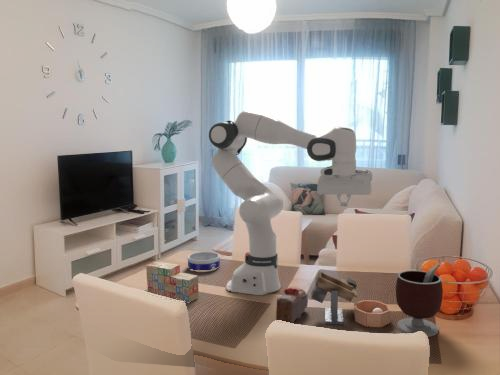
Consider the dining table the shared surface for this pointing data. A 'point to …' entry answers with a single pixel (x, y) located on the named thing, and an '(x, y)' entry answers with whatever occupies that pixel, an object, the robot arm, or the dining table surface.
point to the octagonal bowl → (367, 317)
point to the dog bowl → (203, 260)
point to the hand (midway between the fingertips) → (343, 206)
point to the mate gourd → (419, 299)
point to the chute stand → (334, 311)
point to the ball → (377, 310)
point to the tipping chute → (333, 287)
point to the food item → (291, 304)
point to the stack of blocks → (171, 281)
